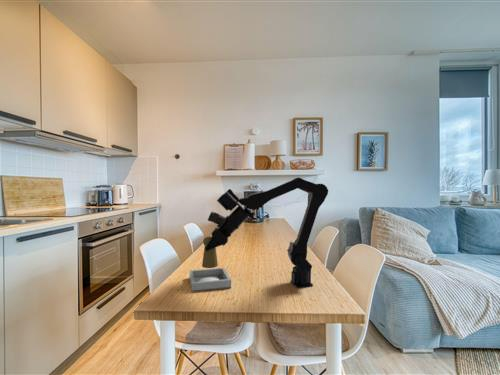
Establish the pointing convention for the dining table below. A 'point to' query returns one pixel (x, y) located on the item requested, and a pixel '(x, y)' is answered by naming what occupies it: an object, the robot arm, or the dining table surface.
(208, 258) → the cork
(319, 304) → the dining table surface
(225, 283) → the walled pen
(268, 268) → the dining table surface
